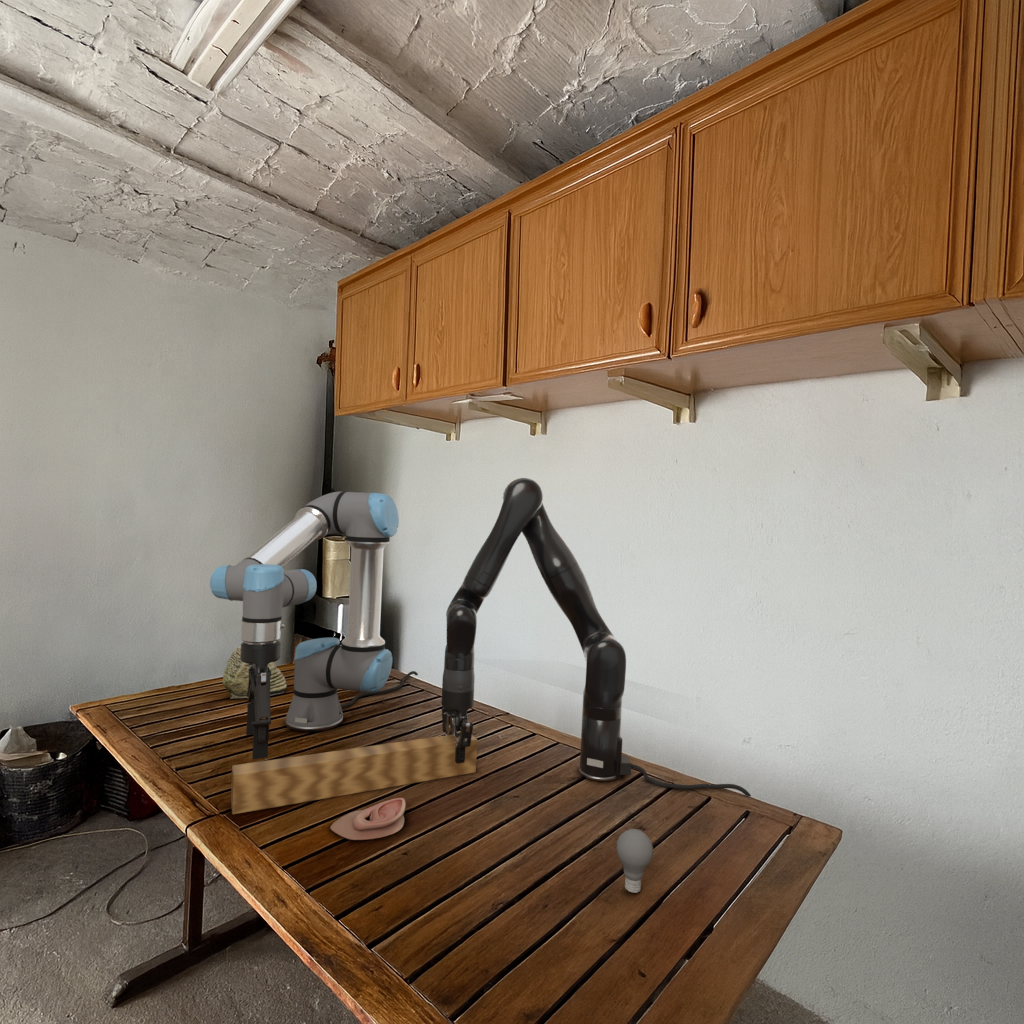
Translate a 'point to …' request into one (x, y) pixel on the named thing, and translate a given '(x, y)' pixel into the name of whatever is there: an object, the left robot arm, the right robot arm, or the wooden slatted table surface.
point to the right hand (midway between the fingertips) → (455, 757)
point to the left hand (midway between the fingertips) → (256, 745)
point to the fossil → (239, 677)
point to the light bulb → (634, 857)
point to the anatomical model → (372, 821)
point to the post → (346, 772)
